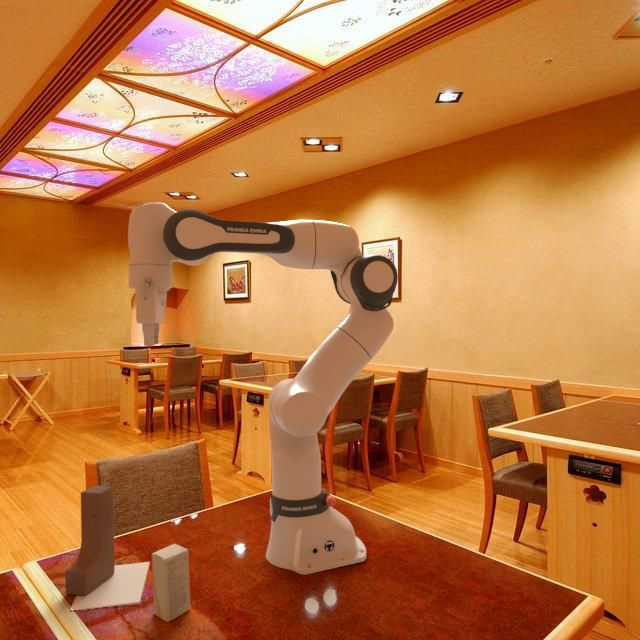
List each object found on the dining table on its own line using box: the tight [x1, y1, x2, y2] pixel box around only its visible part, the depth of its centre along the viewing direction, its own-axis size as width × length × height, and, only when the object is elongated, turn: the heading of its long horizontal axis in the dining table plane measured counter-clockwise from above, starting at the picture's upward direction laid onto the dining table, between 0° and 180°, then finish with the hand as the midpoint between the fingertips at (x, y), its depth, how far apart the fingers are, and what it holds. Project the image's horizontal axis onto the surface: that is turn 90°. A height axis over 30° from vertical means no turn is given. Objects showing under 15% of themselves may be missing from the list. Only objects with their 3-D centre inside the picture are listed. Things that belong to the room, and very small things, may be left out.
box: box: [151, 543, 191, 623], centre depth 91 cm, size 5×4×11 cm
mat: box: [70, 561, 151, 612], centre depth 100 cm, size 12×16×1 cm
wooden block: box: [64, 485, 115, 596], centre depth 100 cm, size 9×4×18 cm, turn 166°
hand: (151, 345), depth 108 cm, fingers open, 8 cm apart
